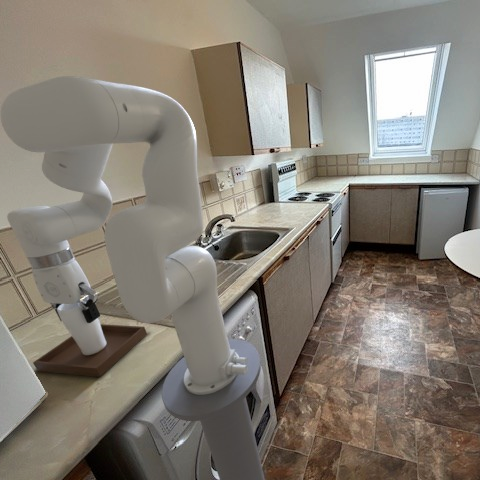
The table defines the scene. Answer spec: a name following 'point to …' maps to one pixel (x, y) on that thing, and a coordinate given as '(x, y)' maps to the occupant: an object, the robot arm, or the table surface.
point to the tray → (75, 362)
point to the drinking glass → (82, 328)
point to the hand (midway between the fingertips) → (80, 318)
